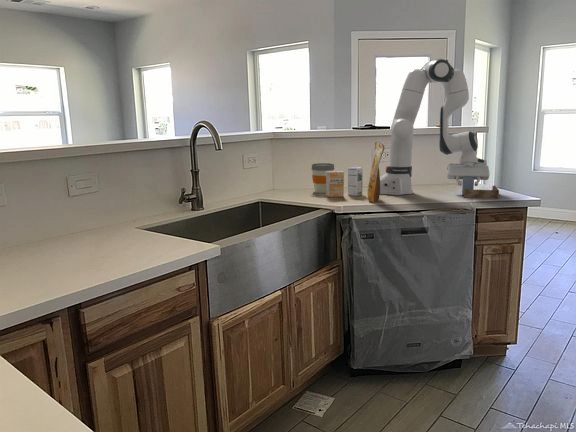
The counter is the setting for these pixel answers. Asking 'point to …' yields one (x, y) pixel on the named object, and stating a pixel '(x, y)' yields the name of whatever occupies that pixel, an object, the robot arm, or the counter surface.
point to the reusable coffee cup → (320, 175)
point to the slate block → (467, 183)
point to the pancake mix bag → (375, 174)
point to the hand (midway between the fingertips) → (467, 185)
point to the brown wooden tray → (482, 193)
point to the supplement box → (334, 183)
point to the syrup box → (355, 181)
